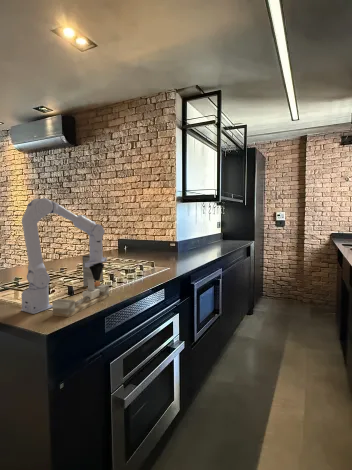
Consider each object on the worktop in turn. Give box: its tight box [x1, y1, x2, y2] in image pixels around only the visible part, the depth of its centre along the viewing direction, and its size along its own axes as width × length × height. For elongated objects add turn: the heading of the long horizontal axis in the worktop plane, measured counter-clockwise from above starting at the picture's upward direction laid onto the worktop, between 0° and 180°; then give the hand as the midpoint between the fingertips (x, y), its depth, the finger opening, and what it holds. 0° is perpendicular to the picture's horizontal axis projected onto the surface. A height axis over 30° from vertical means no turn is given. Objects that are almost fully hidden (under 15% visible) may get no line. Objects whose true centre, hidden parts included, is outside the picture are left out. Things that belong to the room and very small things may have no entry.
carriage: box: [82, 279, 100, 300], centre depth 128 cm, size 6×4×8 cm
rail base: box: [51, 283, 110, 318], centre depth 123 cm, size 28×7×5 cm, turn 161°
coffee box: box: [81, 253, 104, 287], centre depth 155 cm, size 9×6×16 cm
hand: (96, 280), depth 134 cm, fingers closed
